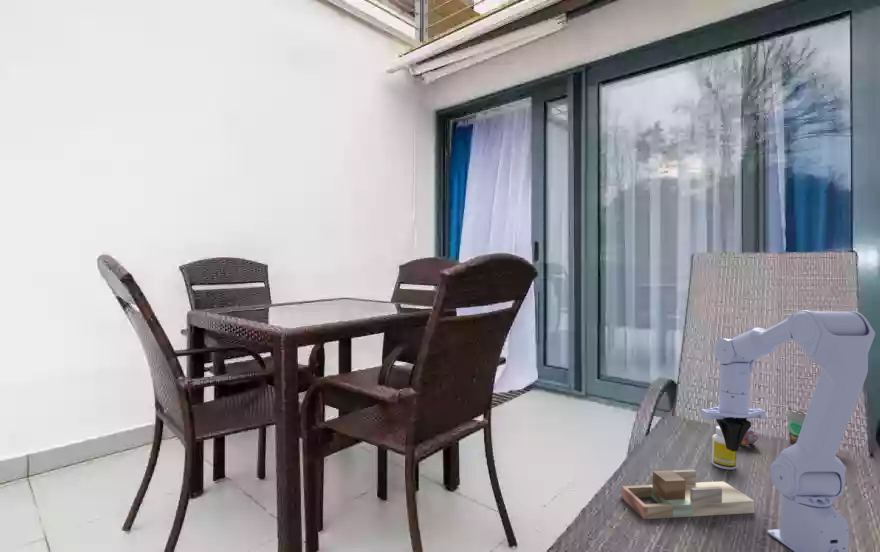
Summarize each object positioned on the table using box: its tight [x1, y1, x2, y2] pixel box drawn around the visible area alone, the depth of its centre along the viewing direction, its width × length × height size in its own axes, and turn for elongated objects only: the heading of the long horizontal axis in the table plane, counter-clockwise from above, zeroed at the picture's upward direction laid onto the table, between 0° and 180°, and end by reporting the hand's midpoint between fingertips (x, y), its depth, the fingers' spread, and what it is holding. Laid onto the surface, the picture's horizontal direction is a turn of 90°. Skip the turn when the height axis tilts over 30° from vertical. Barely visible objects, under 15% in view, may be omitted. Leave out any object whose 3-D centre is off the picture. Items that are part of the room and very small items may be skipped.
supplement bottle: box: [710, 425, 737, 470], centre depth 116 cm, size 5×5×10 cm
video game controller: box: [715, 427, 759, 447], centre depth 130 cm, size 10×5×7 cm, turn 74°
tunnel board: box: [620, 469, 756, 520], centre depth 96 cm, size 9×25×6 cm, turn 97°
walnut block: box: [652, 470, 686, 500], centre depth 96 cm, size 4×4×4 cm
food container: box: [784, 405, 807, 446], centre depth 129 cm, size 12×6×10 cm, turn 25°
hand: (732, 449), depth 103 cm, fingers closed
